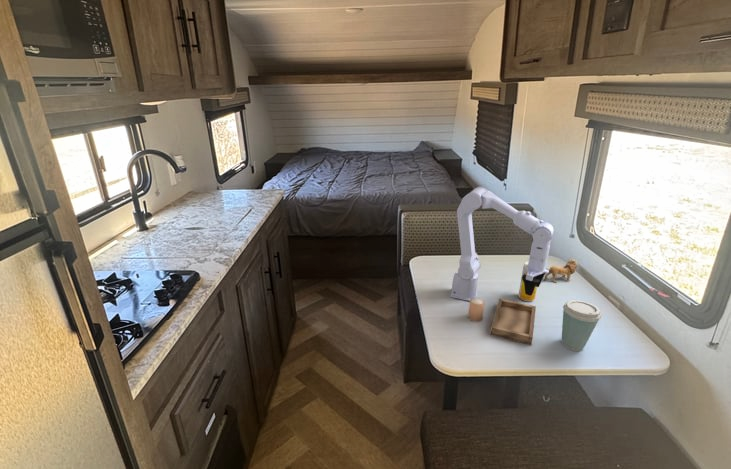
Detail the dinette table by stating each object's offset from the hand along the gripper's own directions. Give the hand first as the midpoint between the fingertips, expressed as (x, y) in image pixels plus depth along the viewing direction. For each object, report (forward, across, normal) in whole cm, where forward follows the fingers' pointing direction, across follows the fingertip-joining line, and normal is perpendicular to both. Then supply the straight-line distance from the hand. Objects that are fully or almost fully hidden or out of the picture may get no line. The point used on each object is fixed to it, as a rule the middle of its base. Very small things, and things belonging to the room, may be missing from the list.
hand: (532, 290), depth 136 cm
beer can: (+10, +10, +4) cm, 15 cm away
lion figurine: (+10, +34, -2) cm, 36 cm away
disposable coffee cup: (+10, -9, -18) cm, 22 cm away
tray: (+10, -10, +2) cm, 14 cm away
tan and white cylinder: (+10, -15, +14) cm, 23 cm away
